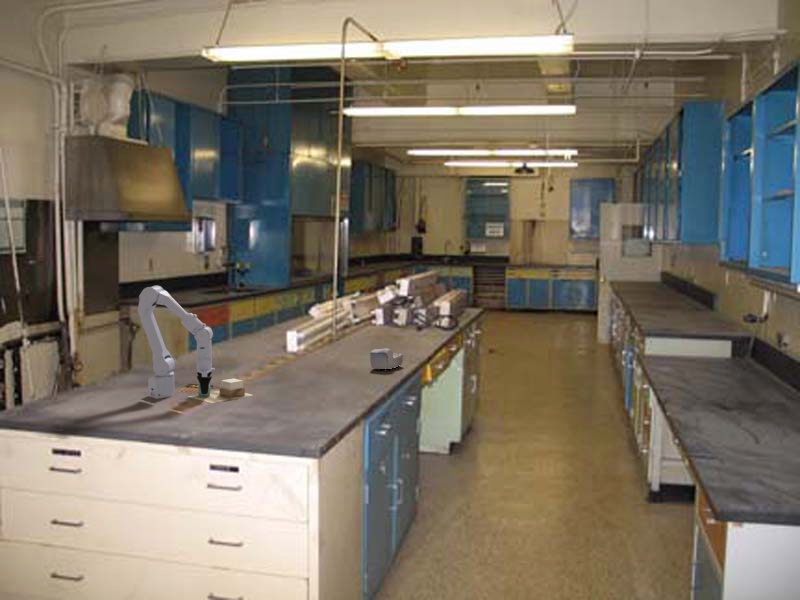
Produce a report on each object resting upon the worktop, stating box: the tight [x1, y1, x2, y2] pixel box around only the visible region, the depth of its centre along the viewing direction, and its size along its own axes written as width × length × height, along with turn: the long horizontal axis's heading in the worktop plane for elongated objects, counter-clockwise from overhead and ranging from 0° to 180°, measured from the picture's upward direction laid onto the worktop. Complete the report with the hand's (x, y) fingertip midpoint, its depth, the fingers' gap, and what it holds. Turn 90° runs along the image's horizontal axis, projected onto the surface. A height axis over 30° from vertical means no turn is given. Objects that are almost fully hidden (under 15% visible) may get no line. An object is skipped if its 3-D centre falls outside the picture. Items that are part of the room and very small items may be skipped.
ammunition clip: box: [177, 383, 214, 395], centre depth 310 cm, size 11×2×12 cm
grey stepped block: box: [369, 347, 404, 370], centre depth 372 cm, size 13×11×20 cm
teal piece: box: [197, 383, 211, 397], centre depth 299 cm, size 4×4×4 cm
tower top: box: [220, 378, 244, 390], centre depth 301 cm, size 6×6×3 cm
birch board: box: [188, 390, 253, 404], centre depth 301 cm, size 20×16×1 cm
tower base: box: [218, 387, 246, 398], centre depth 302 cm, size 7×7×3 cm
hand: (204, 391), depth 299 cm, fingers open, 7 cm apart
